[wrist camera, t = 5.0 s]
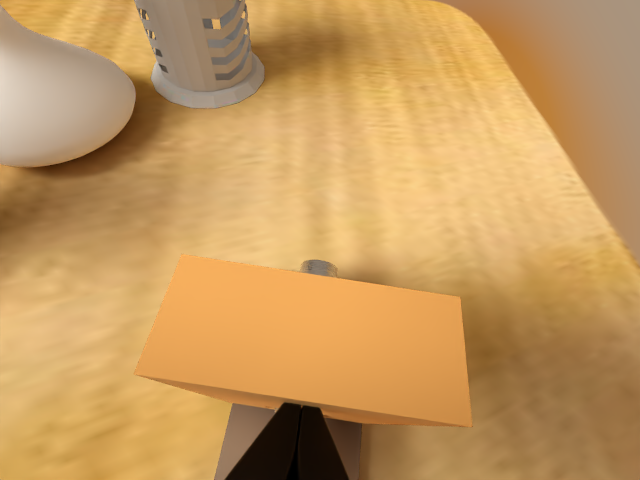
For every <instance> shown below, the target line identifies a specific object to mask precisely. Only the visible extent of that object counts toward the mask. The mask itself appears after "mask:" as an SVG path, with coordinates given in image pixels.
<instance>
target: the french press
mask: <svg viewBox="0 0 640 480" xmlns="http://www.w3.org/2000/svg"><path fill="white" fill-rule="evenodd" d="M134 1H135V4H136V7H137V10H138V12H139V15H140V9H142V18H143V19H142V18H141V15H140V18H141V20H142V22H143V25H144V28H145V31H146V34H147V36H148V33H147V30H149V37H148V39H149V41H150V44H151V46H152V49H153V48H155V52H154V50H153V52H154V54H155V57H156V60H157V62H156V63H155V65H154V68H153V72H152V75H151V80H152V82H153V85H154V87H155V90H156V91H157V92H158V93H159V94H161V95H162V96H163V97H165V98H166V99H167V100H169V101H170V102H173V103H176V104H179V105H183V106H186V107H190V108H219V107H223V106H227V105H231V104H235V103H239V102H241V101H242V100H244V99H246V98H247V97H249V96H251V95H252V94H254V93H256V91H257V90H258V88H259V87H260V85H261V84H262V83H263V81H264V68H265V67H264V66H263V64H262V63H261V61H260V60H259V58H258V57H257V55H255V54H254V53H253V52H252V50H251V40H250V39H249V35H250V31H249V24H248V22H247V18H248V14H247V5H246V4H245V0H241V1H239V0H134ZM243 11H245V19H243V18H241V16H242V13H243ZM146 12H147V15H148V17H149V20H146V16H145V14H146ZM219 18H220V24H221V29H220V30H219V29H213V25H212V20H211V19H219ZM246 28H247V30H248V34H247V35H245V34H244V33H245V30H246ZM152 31H153V32H154V34H155V39H152Z"/></svg>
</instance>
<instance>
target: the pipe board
mask: <svg viewBox="0 0 640 480" xmlns="http://www.w3.org/2000/svg"><path fill="white" fill-rule="evenodd" d="M274 411H275V410H274V409H267V408H261V407H255V406H248V405H242V404H235V403H233V404H232V408H231V412H230V417H229V421H228V425H227V429H226V433H225V437H224V441H223V445H222V449H221V453H220V457H219V462H218V466H217V470H216V474H215V478H214V480H224V479H225V478H226V476H227V475H228V474H229V472H230V471H231V470H232V469H233V467H234V466H235V465H236V463H237V462H238V461H239V459H240V458H241V457H242V456H243V454H244V453H245V452H246V450H247V449H248V448H249V446H250V445H251V444H252V443H253V441H254V440H255V439H256V437H257V436H258V435H259V433H260V432H261V431H262V429H263V428H264V427H265V426H266V424H267V423H268V422H269V420H270V419H271V418H272V416H273V415H274ZM324 418H325V417H324ZM325 420H326V423H327V425H328V428H329V430H330V433H331V435H332V437H333V440H334V442H335V445H336V447H337V450H338V452H339V454H340V457H341V459H342V462H343V464H344V466H345V469H346V471H347V474H348V476H349V479H350V480H358V479H359V462H360V445H361V428H362V423H357V422H351V421H344V420H338V419H332V418H325Z"/></svg>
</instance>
